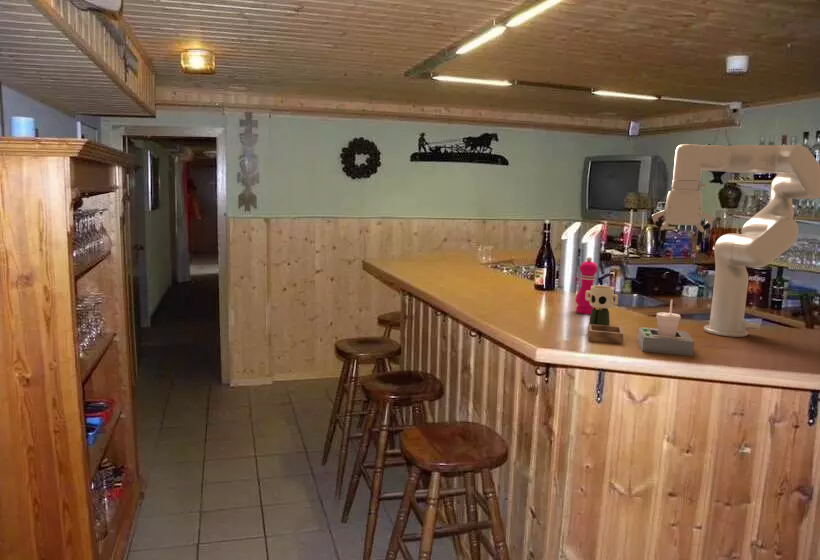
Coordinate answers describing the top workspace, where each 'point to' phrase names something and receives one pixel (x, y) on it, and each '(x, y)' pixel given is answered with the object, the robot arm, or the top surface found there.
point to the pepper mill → (586, 286)
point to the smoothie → (668, 322)
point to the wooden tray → (605, 333)
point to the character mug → (601, 303)
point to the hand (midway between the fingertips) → (679, 244)
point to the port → (665, 342)
